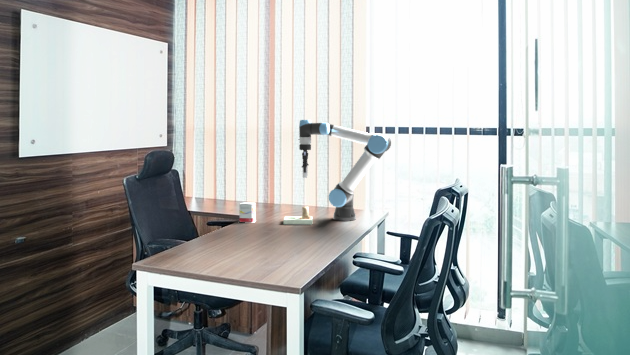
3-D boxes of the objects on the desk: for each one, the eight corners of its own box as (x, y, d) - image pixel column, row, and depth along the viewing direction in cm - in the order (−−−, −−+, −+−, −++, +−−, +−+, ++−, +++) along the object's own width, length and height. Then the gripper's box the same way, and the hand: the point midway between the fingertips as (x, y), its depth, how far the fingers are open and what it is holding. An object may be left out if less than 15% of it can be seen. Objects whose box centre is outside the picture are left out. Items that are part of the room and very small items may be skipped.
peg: (308, 222, 311) (308, 206, 310) (308, 223, 307) (308, 207, 306) (302, 222, 311) (302, 206, 310) (302, 223, 307) (302, 207, 306)
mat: (256, 220, 318) (256, 219, 318) (254, 223, 308) (254, 222, 308) (241, 220, 318) (241, 219, 318) (238, 222, 308) (238, 222, 308)
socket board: (312, 221, 315) (312, 216, 315) (312, 224, 303) (312, 219, 303) (285, 220, 316) (285, 216, 315) (283, 224, 304) (283, 219, 303)
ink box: (252, 222, 308) (251, 204, 307) (239, 222, 310) (238, 203, 308) (256, 220, 316) (255, 202, 315) (243, 219, 318) (243, 201, 317)
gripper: (300, 143, 325) (300, 174, 327) (298, 144, 300) (298, 178, 302) (311, 143, 325) (311, 174, 327) (310, 144, 300) (310, 178, 302)
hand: (305, 176), depth 314 cm, fingers open, 13 cm apart
